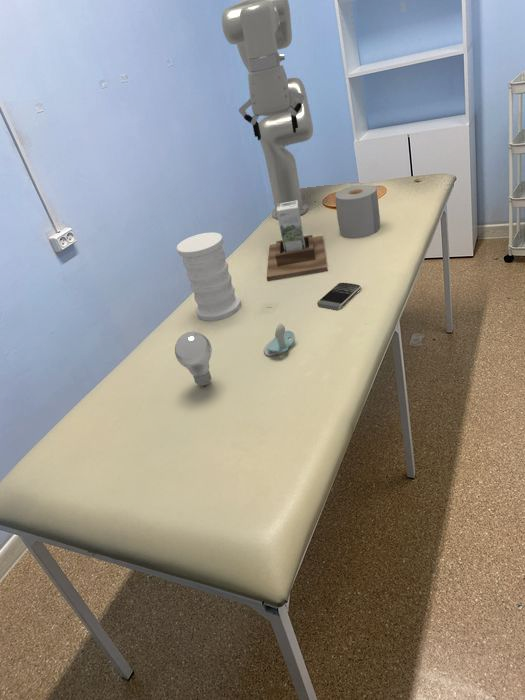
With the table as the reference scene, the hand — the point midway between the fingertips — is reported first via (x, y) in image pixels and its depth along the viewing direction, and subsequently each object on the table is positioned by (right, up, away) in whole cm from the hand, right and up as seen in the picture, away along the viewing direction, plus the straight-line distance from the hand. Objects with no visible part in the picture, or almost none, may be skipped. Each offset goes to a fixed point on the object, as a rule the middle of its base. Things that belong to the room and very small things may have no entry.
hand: (277, 135), depth 134 cm
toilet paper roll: (+25, -22, +14) cm, 36 cm away
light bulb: (-15, -65, -34) cm, 75 cm away
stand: (+6, -32, +6) cm, 33 cm away
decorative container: (-15, -48, -9) cm, 51 cm away
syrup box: (+6, -31, +6) cm, 32 cm away
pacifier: (0, -58, -29) cm, 65 cm away
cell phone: (+14, -46, -16) cm, 51 cm away
